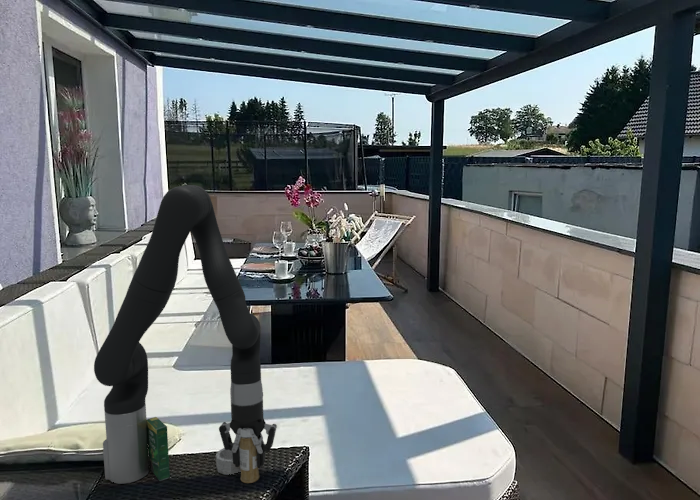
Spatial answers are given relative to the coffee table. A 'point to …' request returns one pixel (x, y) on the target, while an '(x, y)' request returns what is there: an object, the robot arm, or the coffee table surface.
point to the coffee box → (158, 448)
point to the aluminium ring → (226, 462)
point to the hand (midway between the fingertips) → (249, 465)
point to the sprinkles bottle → (248, 458)
